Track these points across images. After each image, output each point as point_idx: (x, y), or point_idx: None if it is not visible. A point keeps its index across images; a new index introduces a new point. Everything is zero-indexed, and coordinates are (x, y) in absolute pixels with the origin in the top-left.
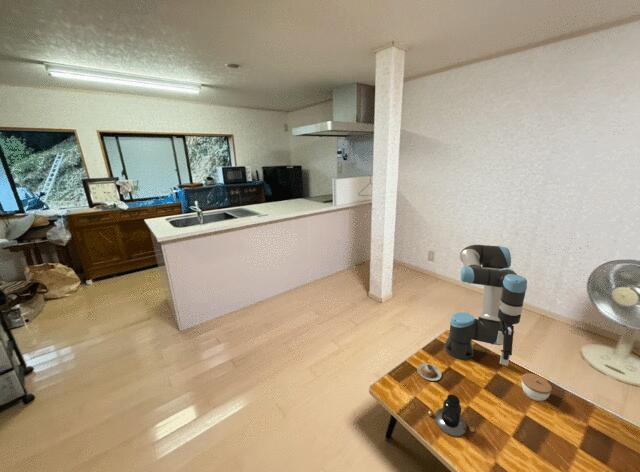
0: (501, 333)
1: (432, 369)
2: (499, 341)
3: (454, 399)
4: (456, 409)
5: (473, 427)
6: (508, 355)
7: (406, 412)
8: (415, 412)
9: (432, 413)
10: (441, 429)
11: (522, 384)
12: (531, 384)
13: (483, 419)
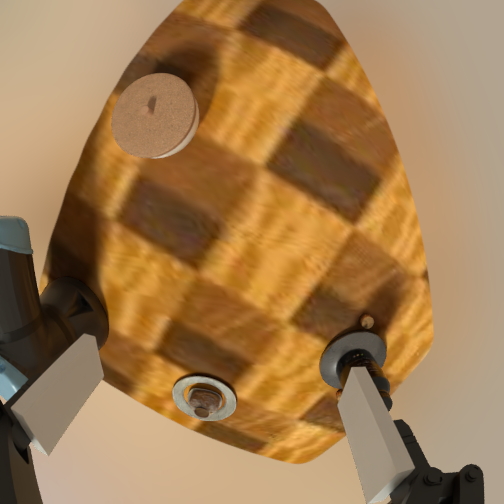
0: (44, 433)
1: (205, 405)
2: (88, 380)
3: None
4: (386, 389)
5: (365, 320)
6: (424, 458)
7: None
8: None
9: None
10: None
11: (161, 157)
12: (168, 131)
13: (323, 288)
